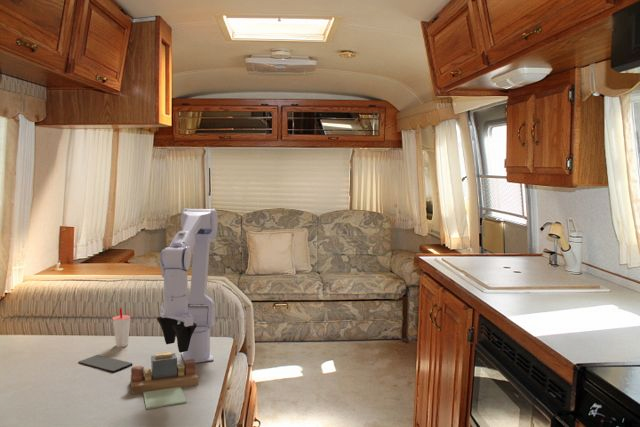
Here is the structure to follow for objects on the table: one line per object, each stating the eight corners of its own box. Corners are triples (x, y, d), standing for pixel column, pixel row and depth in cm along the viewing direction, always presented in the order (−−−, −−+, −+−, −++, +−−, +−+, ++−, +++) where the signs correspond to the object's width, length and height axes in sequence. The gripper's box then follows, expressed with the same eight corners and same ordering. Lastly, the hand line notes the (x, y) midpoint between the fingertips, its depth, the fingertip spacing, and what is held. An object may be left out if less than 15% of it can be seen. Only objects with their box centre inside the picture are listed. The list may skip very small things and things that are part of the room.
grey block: (151, 374, 133) (151, 352, 133) (175, 371, 135) (174, 350, 135) (152, 380, 129) (152, 358, 129) (177, 377, 132) (177, 355, 131)
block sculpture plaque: (130, 382, 133) (130, 363, 133) (193, 373, 139) (193, 355, 139) (132, 394, 126) (132, 374, 125) (198, 384, 132) (198, 365, 132)
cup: (113, 349, 158) (112, 310, 157) (112, 343, 162) (111, 306, 161) (131, 346, 160) (130, 309, 159) (130, 341, 165) (129, 304, 164)
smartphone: (97, 354, 152) (133, 363, 145) (98, 357, 152) (133, 366, 145) (77, 361, 146) (113, 371, 139) (77, 364, 146) (113, 374, 139)
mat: (143, 393, 126) (143, 392, 126) (180, 388, 130) (180, 386, 130) (146, 409, 118) (146, 407, 118) (186, 402, 122) (186, 401, 121)
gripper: (148, 291, 132) (149, 343, 133) (173, 303, 121) (174, 359, 122) (174, 287, 136) (175, 337, 137) (200, 298, 125) (201, 352, 126)
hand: (176, 347), depth 130 cm, fingers open, 7 cm apart
